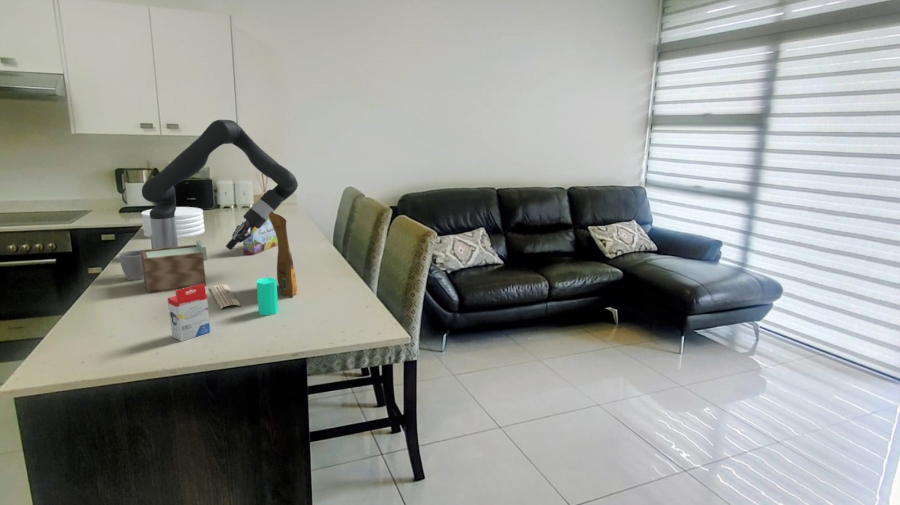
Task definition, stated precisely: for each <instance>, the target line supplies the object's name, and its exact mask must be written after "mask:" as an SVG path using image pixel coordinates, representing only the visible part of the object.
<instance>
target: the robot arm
mask: <svg viewBox="0 0 900 505" xmlns="http://www.w3.org/2000/svg"><path fill="white" fill-rule="evenodd" d="M228 144H231V145H234V146H235V147H237V148H239V149H240V150H241V151H242V152H243V153H244V154H245V156H246V157H247V158H248V160H249V162H250V163H251V164H252V165H253V167H254V168H255V169H256V170H258V171H259V172H260V173H261V174H263V175H264V176H265V177H267V178H268V179H271V180H272V181H273V182H274V183H276V185H275V186H274V188H272V189H268V190H266V191H265V192H264V194H263V195H262V196H261V197H260V198H259V199H258V200H257V201H255V203H254V204H252V206H251V207H250V208H248V210H247V211H246V212H245V213H244V215H243V216H242V218H243V219H244V221H245V222H244V223H242V222H241V224H238V225H237V226H236V228H235V230H234V231H233V232H232V235H231V239H230V241H228V242H227V243H226V245H225V247H226V248H227V249H228V250H230V251H232V250H233V249H234V247H235V246H236V245H237V244H239V243H243V241H244V240H245V239H247V238H248V237H249V236H251V234H250V233H251V232H252V230H253V228H254V227H256V228H258V229H259V228H260V227H261V226H262V225H263V224H264V223H265V222H266V221H267V220H268V219H269V213H270V212H271V211H272V212H273V213H275V211H276V210H277V209H278V208H279V206H280V205H281V204H282V203H283V202H285V201H286V200H287V199H288V198H289V197H291V196H292V195H293V194H294V193H295V192H296V191H297V189H298V185H299V184H298V181H297V178H296V176H295V175H294V174H293V173H292V172H291V171H290V170H289V169H287V168H286V167H284V166H282V165H280V164H279V163H278V162H277V161H276V160H275V159H274V158H273V157H271V156H270V155H269V154H268V153H267V152H266V151H264V150H263V149H262V148H261V147H260V146H259V145H258V144H257V143H256V142H255V141H254V140H253V139H252V138H251V137H250V136H249V135H248V134H247V133H246V131H245V130H244V129H243V128H242V127H241V126H240V125H239V124H238V123H237V122H236V121H234V120H231V119H217V120H214V121H212V122H211V123H210V124H209V125H208V127H206V129H205V130H204V131H203V132H202V134H201V135H200V136H199V137H198V138H197V139H195V140H194V141H193V142H192V143H190V145H189V146H188V147H187V148H186V149H184V150H183V151H182V152H181V153H180V154H178V155H177V156H176V157H175V158H174V159H173V160H172V161H171V162H170V163H168V164H167V165H166V166H165V167H164V168H163V169H162V170H161V171H160V172H159V173H157V174H156V175H154V176H153V177H151V178H150V179H148V180H146V182H144V183H143V185H142V188H141V195H142V197H143V199H144V200H146V201H147V202H150V203H156V204H155V206H154V207H153V208H151V209H152V210H151V211H150V221H151V230H152V235H150V237H149V238H150V245H151V249H157V248H168V247H178V246H179V244H178V242H179V241H178V238H177V232H176V223H175V211H176V207H177V200H176V199H177V198H176V197H177V196H176V188H175V185H178V184H179V183H181V182H184V181H186V180H188V179H190V178H191V177H193V176H194V175H196V174H197V173H198V172H200V171H201V170H202V169H203V168H204V167H205V166H206V164H207V163H208V159H209V157H210V155H211V153H213V151H215V150H216V149H217V148H219V147H221V146H223V145H228Z"/></svg>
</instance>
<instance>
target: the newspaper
mask: <svg viewBox="0 0 900 505" xmlns="http://www.w3.org/2000/svg"><path fill="white" fill-rule="evenodd" d="M209 290H210V292H211V294H212V297H213V298H214V300H215V299H216V300H215V301H217V302H216V303H217V305H218V307H219V309H220V310H223V308H225V307H229V306H237V307H239V306H240V308H241V304H240V302H239V301H238V299H237V298H236V296H235V295H234V293H233V291H232V290H231V288H230V287H229V285H228V284H216V285H215V284H214V285H212V286H210V287H209Z"/></svg>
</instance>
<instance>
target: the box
mask: <svg viewBox="0 0 900 505" xmlns="http://www.w3.org/2000/svg"><path fill="white" fill-rule="evenodd" d="M190 247H197V246H196V244H190V245H181V246H179V245H178V247H168V248H157V249H152V248H149V249H140V250H139V251H141V259H142V267H143V275H144V278H143V281H144V286H145V285H146V286H145V288H146V291H147V293H148V294H155V293H163V292H169V290H170V291H176V289H177V290H180V289H183V288H187V287H191V286H196V285H200V284H205V286H207V284H206V283H207V282H206V274H205V271H206V270H205V265H204V264H205V261H204V260H203V252H199V253H190V254H180V255H171V256H161V257H152V258H148V257H147V255H146V252H150V251H160V250H170V249H180V248H190ZM162 291H163V292H162Z"/></svg>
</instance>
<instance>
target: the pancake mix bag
mask: <svg viewBox="0 0 900 505" xmlns="http://www.w3.org/2000/svg"><path fill="white" fill-rule="evenodd" d="M269 219H270V221H271V223H272V225H273V228H274V231H275V233H276V236H277V241H278V245H277V259H276V260H277V263H276V280H277V286H278V288H279V290H280V292H281V294H282V295H283V296H284V297H287V298H294V296H297V293H298V292H297V291H298V284H297V278H296V272H295V268H294V267H295V266H294V261H293V257H292V256H293V255H292V252H291V247H290V244H289V239H288V231H287V230H288V229H287V221H288V220H286V219H285V218H284V217H283V216H281V215H280V214H277V213H275V212H272V211H271V212H270V213H269Z"/></svg>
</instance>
